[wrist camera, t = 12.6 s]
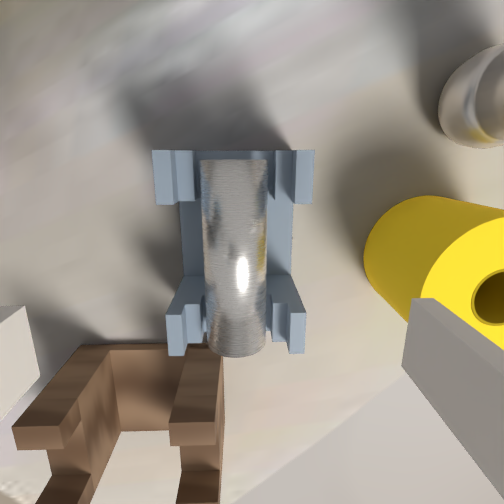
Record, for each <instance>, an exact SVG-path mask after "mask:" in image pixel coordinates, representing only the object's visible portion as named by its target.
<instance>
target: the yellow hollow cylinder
mask: <svg viewBox="0 0 504 504" xmlns="http://www.w3.org/2000/svg"><path fill="white" fill-rule="evenodd" d="M363 260H364V269H365V273H366V276H367V278H368V280H369V282H370V284H371V285H372V287H373V288H374V289H375V290H376V291H377V292H378V293H379V294H380V295H381V296H382V297H383V298H384V299H385V300H386V301H387V302H388V303H389V304H390V305H391V306H392V307H393V308H394V309H395V311H396V312H397V313H398V314H399V315H400V316H401V317H402V318H403V319H404V320H405V321H406V322H407V323H408V320H409V313H410V307H411V300H412V298H434V299H436V300H437V301H438V302H440V303H441V304H442V305H444V306H445V307H446V308H448V309H449V310H450V311H452V312H453V313H454V314H456V315H457V316H458V317H460V318H461V319H462V320H464V321H465V322H466V323H468V324H469V325H470V326H472V327H473V328H475V329H476V330H477V331H479V332H480V333H481V334H483V335H484V336H485V337H487V338H488V339H489V340H491V341H492V342H493V343H495V344H496V345H497V346H499V347H500V348H501V349H503V350H504V210H502V209H498V208H493V207H488V206H483V205H478V204H473V203H469V202H464V201H459V200H454V199H449V198H445V197H440V196H431V195H427V196H418V197H414V198H410V199H407V200H405V201H403V202H401V203H399V204H397V205H395V206H394V207H392V208H391V209H389V210H388V211H387V212H386V213H385V214H384V215H383V216H382V217H381V218H380V219H379V220H378V221H377V222H376V224H375V225H374V227H373V228H372V230H371V232H370V234H369V236H368V238H367V241H366V244H365V248H364V257H363Z"/></svg>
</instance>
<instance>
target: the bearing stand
mask: <svg viewBox="0 0 504 504" xmlns="http://www.w3.org/2000/svg"><path fill="white" fill-rule="evenodd" d="M224 426H225V410H224V376H223V356H221V355H218V354H216V353H214V352H213V351H211V350H210V348H209V347H208V344H207V343H188V344H187V347H186V351H185V354H184V356H169V353H168V343H159V344H103V345H80V346H79V348H78V349H77V350H76V351H75V352H74V354H73V355H72V356H71V357H70V358H69V360H68V361H67V362H66V363H65V364H64V365H63V367H62V368H61V369H60V370H59V371H58V373H57V374H56V375H55V376H54V377H53V378H52V380H51V381H50V382H49V383H48V384H47V386H46V387H45V388H44V389H43V390H42V391H41V393H40V394H39V395H38V396H37V397H36V399H35V400H34V401H33V402H32V403H31V404H30V406H29V407H28V408H27V409H26V410H25V412H24V413H23V414H22V415H21V416H20V417H19V419H18V420H17V421H16V422H15V423H14V425H13V426H12V431H13V435H14V439H15V443H16V446H17V450H47V455H48V459H49V463H50V468H51V472H52V476H51V478H50V480H49V481H48V483H47V485H46V487H45V488H44V490H43V492H42V493H41V495H40V497H39V498H38V500H37V502H36V503H35V504H90V502H91V500H92V497H93V495H94V493H95V491H96V488H97V486H98V484H99V481H100V479H101V477H102V474H103V472H104V470H105V468H106V465H107V463H108V461H109V458H110V456H111V454H112V451H113V449H114V447H115V444H116V442H117V440H118V438H119V435H120V433H121V431H160V430H169V436H170V446H180V456H181V469H182V473H181V478H180V483H179V488H178V494H177V499H176V504H220V491H221V475H222V459H223V442H224Z"/></svg>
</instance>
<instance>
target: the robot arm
mask: <svg viewBox="0 0 504 504" xmlns="http://www.w3.org/2000/svg"><path fill="white" fill-rule="evenodd" d="M401 366H402V367H403V369H404V370H405V371H406V373H407V374H408V375H409V377H410V378H411V379H412V380H413V382H414V383H415V384H416V386H417V387H418V388H419V390H420V391H421V392H422V393H423V395H424V396H425V397H426V399H427V400H428V401H429V402H430V404H431V405H432V407H433V408H434V409H435V410H436V412H437V413H438V414H439V416H440V417H441V418H442V420H443V421H444V422H445V423H446V425H447V426H448V427H449V429H450V430H451V431H452V432H453V434H454V435H455V436H456V438H457V439H458V440H459V442H460V443H461V444H462V446H463V447H464V448H465V449H466V451H467V452H468V453H469V455H470V456H471V457H472V459H473V460H474V461H475V463H476V464H477V465H478V466H479V468H480V469H481V470H482V472H483V473H484V474H485V476H486V477H487V478H488V479H489V481H490V482H491V483H492V485H493V486H494V487H495V488H496V490H497V491H498V492H499V494H500V495H501V496H502V498H503V499H504V350H503V349H501V348H500V347H499V346H497V345H496V344H495V343H493V342H492V341H491V340H489V339H488V338H487V337H485V336H484V335H483V334H481V333H480V332H479V331H477V330H476V329H475V328H473V327H472V326H470V325H469V324H468V323H466V322H465V321H464V320H462V319H461V318H460V317H458V316H457V315H456V314H454V313H453V312H452V311H450V310H449V309H448V308H446V307H445V306H444V305H442V304H441V303H440V302H438V301H437V300H436V299H434V298H412V300H411V307H410V313H409V320H408V326H407V333H406V339H405V346H404V352H403V359H402V365H401ZM39 377H40V372H39V367H38V363H37V358H36V354H35V349H34V345H33V340H32V336H31V331H30V327H29V322H28V318H27V313H26V309H25V306H0V421H1V420H2V419H3V418H4V417H5V416H6V414H7V413H8V412H9V411H10V410H11V409H12V408H13V407H14V405H15V404H16V403H17V402H18V401H19V400H20V399H21V397H22V396H23V395H24V394H25V393H26V392H27V391H28V389H29V388H30V387H31V386H32V385H33V384H34V383H35V382H36V380H37V379H38V378H39Z"/></svg>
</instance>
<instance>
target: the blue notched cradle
mask: <svg viewBox="0 0 504 504" xmlns="http://www.w3.org/2000/svg"><path fill="white" fill-rule="evenodd" d="M314 154H315V150H275V151H193V150H152V161H153V173H154V185H155V197H156V205H174V204H175V203H177V202H178V201H179V208H180V223H181V239H182V255H183V271H184V277H183V279H182V281H181V283H180V285H179V287H178V289H177V292H176V294H175V296H174V298H173V300H172V302H171V304H170V306H169V308H168V310H167V313H166V315H165V317H166V329H167V341H168V353H169V356H184V354H185V351H186V347H187V344H188V343H202V340H203V335H204V332H207V325H206V302H205V279H204V256H203V233H202V209H201V186H200V163H199V160H212V159H256V160H268V195H267V267H266V331H271V336H272V342H287V346H288V350H289V354H304V350H305V330H306V311H305V308H304V306H303V304H302V301H301V299H300V296H299V294H298V291H297V289H296V287H295V284H294V282H293V279H292V277H291V250H292V221H293V203H294V204H312V193H313V173H314Z"/></svg>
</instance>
